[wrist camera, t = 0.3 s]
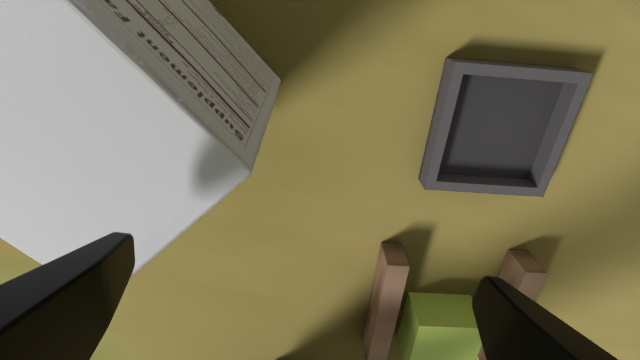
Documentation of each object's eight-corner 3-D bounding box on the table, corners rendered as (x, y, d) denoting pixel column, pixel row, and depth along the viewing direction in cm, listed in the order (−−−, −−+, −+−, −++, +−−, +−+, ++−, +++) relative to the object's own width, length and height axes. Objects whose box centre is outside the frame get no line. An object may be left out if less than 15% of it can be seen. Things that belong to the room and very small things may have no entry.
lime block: (453, 337, 31) (469, 374, 28) (396, 334, 31) (406, 372, 28) (469, 293, 29) (488, 328, 26) (407, 290, 29) (419, 325, 26)
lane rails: (488, 343, 32) (502, 370, 29) (362, 338, 31) (366, 365, 29) (527, 250, 27) (547, 273, 25) (381, 242, 26) (387, 265, 24)
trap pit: (530, 185, 25) (543, 196, 23) (418, 178, 24) (424, 189, 23) (575, 68, 21) (593, 73, 20) (445, 57, 21) (455, 61, 19)
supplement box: (200, 157, 23) (96, 310, 12) (100, 65, 21) (-155, 150, 9) (286, 81, 21) (259, 178, 10) (188, -33, 19) (-3, -75, 7)
